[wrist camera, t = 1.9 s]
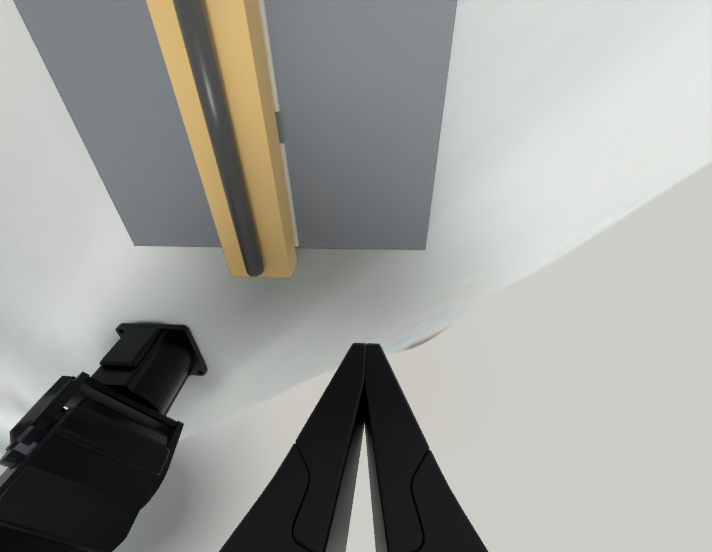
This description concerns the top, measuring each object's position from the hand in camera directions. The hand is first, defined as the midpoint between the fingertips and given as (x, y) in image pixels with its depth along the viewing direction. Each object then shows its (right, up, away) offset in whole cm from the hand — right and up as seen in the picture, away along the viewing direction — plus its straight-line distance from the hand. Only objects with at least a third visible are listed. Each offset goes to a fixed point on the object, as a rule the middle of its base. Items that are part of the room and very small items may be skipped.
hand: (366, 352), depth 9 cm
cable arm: (-6, +11, +5) cm, 14 cm away
